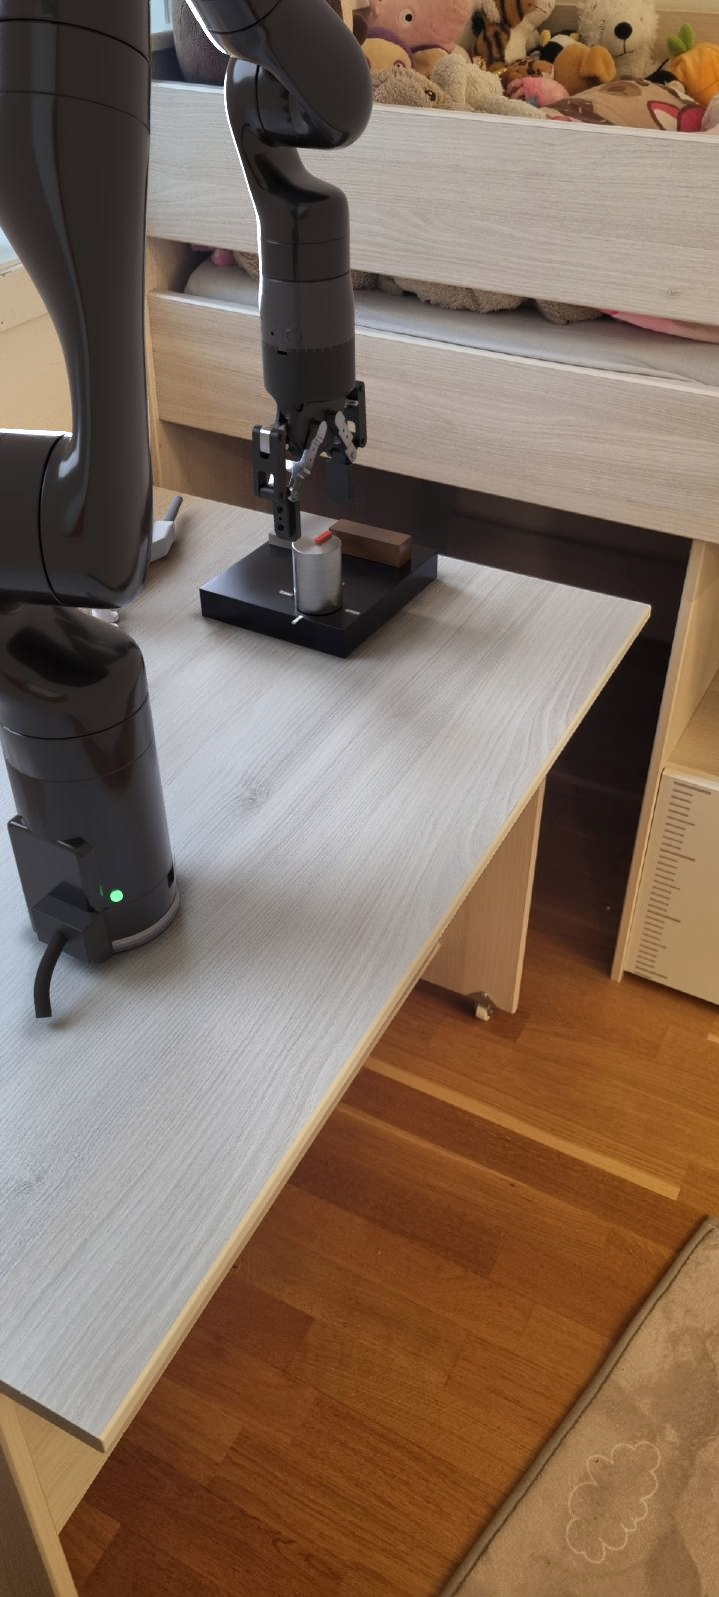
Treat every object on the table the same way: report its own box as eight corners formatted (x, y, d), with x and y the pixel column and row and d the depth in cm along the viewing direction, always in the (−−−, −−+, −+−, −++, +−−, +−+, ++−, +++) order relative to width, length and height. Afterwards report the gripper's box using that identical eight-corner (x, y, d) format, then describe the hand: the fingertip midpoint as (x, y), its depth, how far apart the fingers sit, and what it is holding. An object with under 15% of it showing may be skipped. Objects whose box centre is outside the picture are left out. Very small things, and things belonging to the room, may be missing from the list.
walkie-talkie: (153, 595, 118) (190, 509, 134) (148, 554, 115) (186, 471, 131) (66, 593, 118) (112, 508, 134) (58, 552, 116) (107, 470, 131)
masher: (420, 550, 118) (420, 528, 117) (390, 575, 114) (390, 552, 113) (301, 521, 124) (300, 499, 122) (268, 543, 120) (267, 521, 118)
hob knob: (326, 619, 108) (324, 555, 104) (285, 607, 109) (282, 544, 105) (351, 598, 110) (350, 535, 107) (311, 587, 112) (309, 525, 108)
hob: (337, 665, 107) (336, 634, 105) (193, 622, 114) (190, 592, 112) (437, 577, 120) (438, 548, 118) (303, 543, 127) (302, 515, 125)
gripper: (315, 300, 101) (321, 481, 111) (216, 348, 92) (233, 542, 102) (392, 312, 98) (391, 498, 108) (298, 363, 89) (307, 562, 99)
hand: (315, 519), depth 105 cm, fingers open, 8 cm apart
